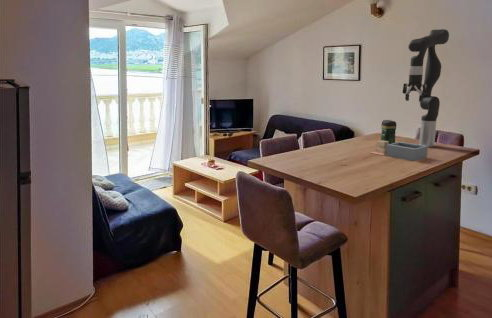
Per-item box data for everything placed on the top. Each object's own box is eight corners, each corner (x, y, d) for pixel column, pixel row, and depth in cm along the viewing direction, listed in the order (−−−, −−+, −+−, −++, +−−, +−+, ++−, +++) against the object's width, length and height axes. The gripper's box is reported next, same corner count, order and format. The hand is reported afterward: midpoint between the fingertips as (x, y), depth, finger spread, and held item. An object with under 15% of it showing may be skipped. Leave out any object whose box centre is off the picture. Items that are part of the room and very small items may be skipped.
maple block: (380, 151, 261) (381, 140, 259) (387, 152, 257) (388, 141, 255) (376, 152, 258) (376, 141, 256) (383, 153, 254) (384, 142, 252)
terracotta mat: (381, 150, 264) (381, 149, 264) (393, 152, 258) (393, 152, 257) (370, 153, 257) (370, 152, 257) (382, 155, 250) (382, 154, 250)
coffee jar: (396, 149, 268) (398, 120, 264) (385, 149, 267) (387, 121, 262) (388, 146, 277) (390, 118, 273) (378, 147, 276) (379, 119, 271)
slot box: (399, 152, 258) (400, 141, 256) (426, 157, 244) (427, 146, 242) (386, 156, 249) (387, 144, 248) (414, 161, 236) (415, 149, 234)
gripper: (430, 74, 244) (428, 101, 247) (408, 73, 254) (406, 100, 258) (423, 74, 239) (421, 102, 243) (401, 74, 250) (399, 100, 254)
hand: (413, 101), depth 250 cm, fingers open, 8 cm apart
